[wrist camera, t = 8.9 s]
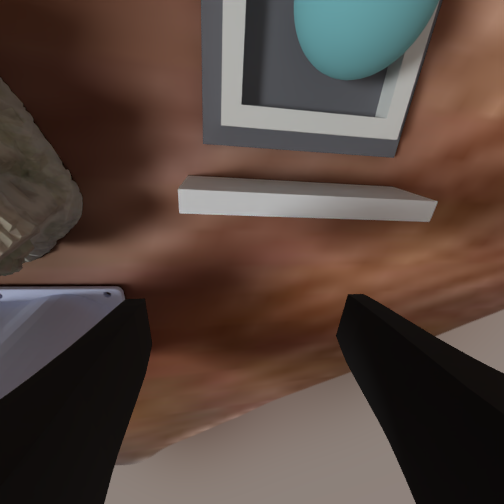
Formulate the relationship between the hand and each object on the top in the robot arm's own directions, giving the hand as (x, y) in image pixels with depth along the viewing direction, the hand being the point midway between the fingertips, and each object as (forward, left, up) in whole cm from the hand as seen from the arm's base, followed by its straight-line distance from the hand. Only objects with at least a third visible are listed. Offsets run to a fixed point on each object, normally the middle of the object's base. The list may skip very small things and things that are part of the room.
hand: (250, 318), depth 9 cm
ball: (+4, +11, -6) cm, 13 cm away
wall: (+4, +3, -9) cm, 10 cm away
